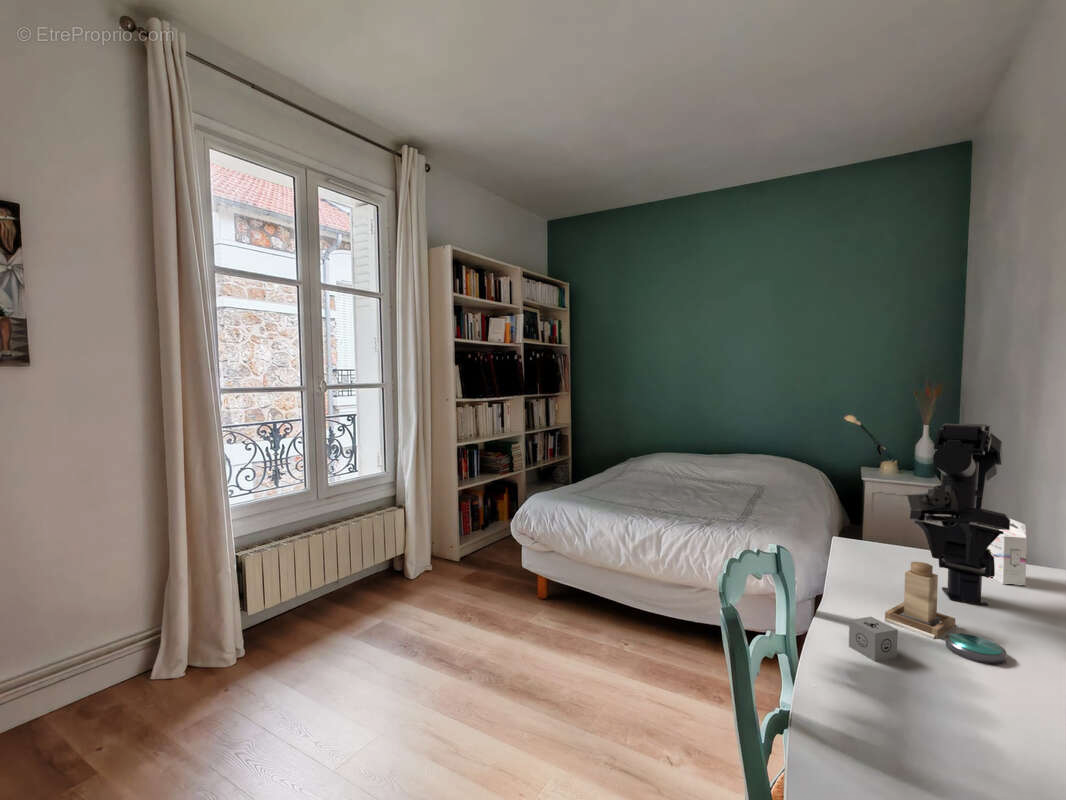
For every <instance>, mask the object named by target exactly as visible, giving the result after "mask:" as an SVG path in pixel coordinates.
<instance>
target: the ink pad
mask: <svg viewBox="0 0 1066 800" xmlns="http://www.w3.org/2000/svg"><path fill="white" fill-rule="evenodd" d="M945 647H946V648H947V650H949V651H950V652H952V653H953V654H955V655H957V656H959V657H961V658H963V659H965V660H969V661H972V662H975V663H979V664H983V665H992V666H999V665H1004V664H1006V662H1007V651H1006V649H1005V648H1004V647H1002V646H1001V645H1000V644H998V643H995V642H994V641H992V640H989V639H987V638H984V637H981V636H978V635H972V634H968V633H962V632H952V633H948V634H946V636H945Z"/></svg>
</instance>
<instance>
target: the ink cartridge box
mask: <svg viewBox="0 0 1066 800" xmlns="http://www.w3.org/2000/svg"><path fill="white" fill-rule="evenodd" d="M1009 519H1010V530H1000V529H999V531H1003V534H1000V535H999V536H998V537H997V538H996V539H995V540H994V541H993V542H992V543H991V544H990V545H989V546H988V548H987V549H990V552H991V555H992V556H993V557H994V563H995V576H994V577H993V578H994V579H996V580H998V581H999V582H1001V583H1003V584H1002V585H1005V584H1018V585H1017V586H1019V585H1020V584H1021V585H1025V586H1026V580H1027V579H1026V578H1027V577H1026V573H1027V550H1028V548H1027V546H1028V538H1027V526H1026V524H1024V523H1022V522H1020V521H1017V520H1014V519H1012V518H1009ZM1012 525H1014V526H1016V527H1017V528H1016V527H1014V526H1012ZM994 579H993V580H994ZM996 580H995V581H996ZM999 582H998V583H999ZM1001 583H1000V584H1001Z"/></svg>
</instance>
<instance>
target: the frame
mask: <svg viewBox="0 0 1066 800" xmlns="http://www.w3.org/2000/svg"><path fill="white" fill-rule="evenodd" d="M903 612H904V601H903V602H902V603H899V604H897V605H896V606H894V607H891V608H890V609H888V610H886V611H884V615H885V616H884V621H885V623H886V622H887V623H889V624H892V625H894V626H898V627H900V628H904V629H905V630H908V631H912V632H914V633H918V634H920V635H923V636H926V637H928V638H931V639H938V638H940V637H941V636H942V635H944V634H946V633H947V632H949V631H950V630H953V628H955V627H956V617H952V616H950V615H947V614H943V613H940V612H937V617H939V618H940V623H938V624H937V625H935V626H930V625H927V624H924V623H921V622H918V621H915V620H912V619H909V618H907V617H904V616H901V613H903Z"/></svg>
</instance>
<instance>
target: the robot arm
mask: <svg viewBox="0 0 1066 800" xmlns="http://www.w3.org/2000/svg"><path fill="white" fill-rule="evenodd" d="M933 449H934V451H935V452H934V453H933V457H932V459H933V460H932V461H933V463H934V466H935V467H936V468H937V469H938V470H939V471H940V474H941V475H940V485H937V484H936V485H934V486H933V488H928V489H927V492H921V493H913V494H907V495H906V496H907V500H908V504H909V508H910V515H909V520H913V523H914V524H915V525H918V526H919V527H920V528H921V530H922V531H923V532H924V535H925V538H926V540H927V544H928V548H929V552H930V553H931V554H930V555H931V557H932V558H933V559H936V560H938V568H943V569H947V587H945V586H942V587H941V590H942V592H943V593H944V594H945V595H946V596H947V598H948V599H949V600H951V601H958V602H964V603H970V604H976V605H984V606H988V605H989V603H988V601H987V600H986V599H985V598H984V597H983V596H982V588H983V587H982V585H983V577H985V578H988V579H989V578H990V577H994V576H995V563H994V557H993V556H992V555H991V552H990V549H987V548H988V546H989V545H990V544H991V543H992V542H993V541H994V540H995V539H996V538H997V537H998V536H999V535H1000V534H1003V531H999V529H1000V530H1010V526H1011V524H1010V519H1011V518H1009V517H1008V515H1006V513H1001V512H997V511H994V510H988V509H984V505H985V497H986V491H987V482H988V481H989V480H991V479H992V478H994V477H995V476H997V475H998V470H999V469H998V468H999V466H1003V460H1004V459H1003V458H1004V457H1003V455H1004V452H1003V442H1002V440H1000V438H998V437H997V436H996V435H994V433H992V428H991V425H987V424H982V423H979V424H977V423H965V424H962V423H960V424H959V423H944V424H943V425H942V428H938V432H937V435H936V439H935V441H934V445H933ZM952 523H954V524H953V525H951V524H952Z"/></svg>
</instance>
